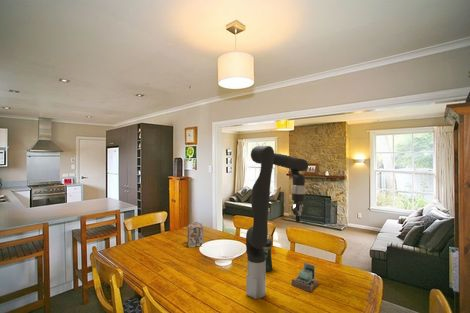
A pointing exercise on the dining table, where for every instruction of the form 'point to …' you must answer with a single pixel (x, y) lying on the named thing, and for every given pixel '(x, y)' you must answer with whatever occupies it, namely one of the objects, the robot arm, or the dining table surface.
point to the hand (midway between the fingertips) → (297, 221)
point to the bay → (304, 285)
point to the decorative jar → (195, 234)
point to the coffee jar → (268, 254)
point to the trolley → (307, 274)
